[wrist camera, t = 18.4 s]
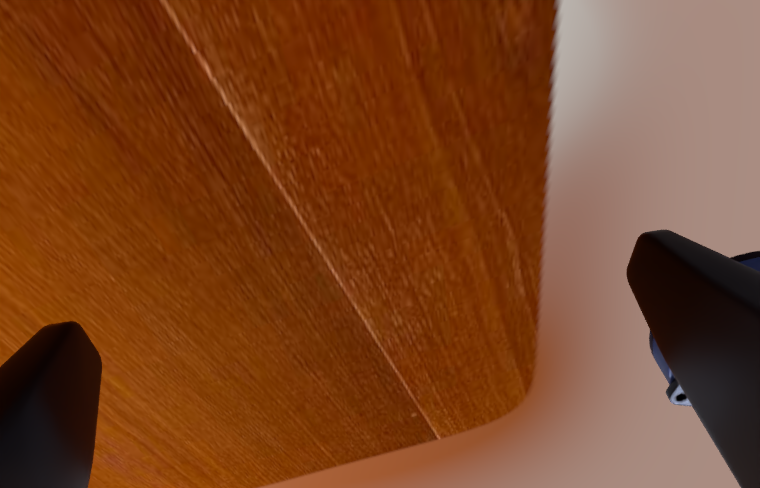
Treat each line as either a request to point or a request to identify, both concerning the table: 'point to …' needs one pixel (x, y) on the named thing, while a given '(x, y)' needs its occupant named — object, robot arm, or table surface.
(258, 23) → the table surface
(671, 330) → the robot arm
